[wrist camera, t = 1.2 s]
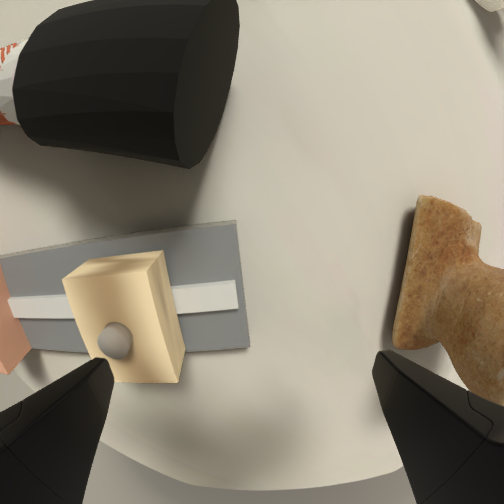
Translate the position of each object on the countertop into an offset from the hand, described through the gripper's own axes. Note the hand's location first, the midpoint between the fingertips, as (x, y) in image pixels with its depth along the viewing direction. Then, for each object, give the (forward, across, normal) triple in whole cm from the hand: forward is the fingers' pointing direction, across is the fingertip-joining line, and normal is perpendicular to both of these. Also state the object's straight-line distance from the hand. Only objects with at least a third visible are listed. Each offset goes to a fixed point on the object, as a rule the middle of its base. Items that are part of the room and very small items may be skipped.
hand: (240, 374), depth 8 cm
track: (+13, +13, +4) cm, 19 cm away
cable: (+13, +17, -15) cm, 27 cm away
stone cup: (+14, -19, +3) cm, 24 cm away
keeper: (+11, +8, +3) cm, 14 cm away
